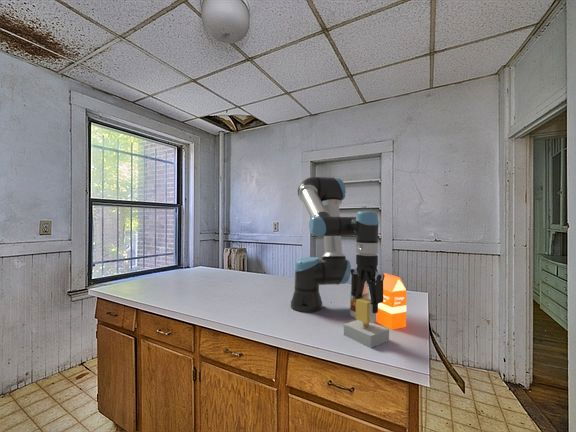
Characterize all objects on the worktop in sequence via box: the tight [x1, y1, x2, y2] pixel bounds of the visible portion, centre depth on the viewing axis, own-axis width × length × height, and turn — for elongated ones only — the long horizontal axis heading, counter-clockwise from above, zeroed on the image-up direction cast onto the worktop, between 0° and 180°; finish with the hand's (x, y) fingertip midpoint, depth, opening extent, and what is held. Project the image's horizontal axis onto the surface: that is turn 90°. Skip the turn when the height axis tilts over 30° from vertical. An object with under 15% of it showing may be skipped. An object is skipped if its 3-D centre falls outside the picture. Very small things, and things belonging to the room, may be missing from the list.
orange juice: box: [375, 272, 407, 330], centre depth 112 cm, size 8×9×20 cm
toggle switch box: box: [343, 319, 390, 349], centre depth 99 cm, size 12×10×8 cm
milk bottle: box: [349, 274, 370, 319], centre depth 121 cm, size 8×8×20 cm
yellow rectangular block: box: [355, 298, 371, 323], centre depth 99 cm, size 5×5×7 cm
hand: (366, 319), depth 99 cm, fingers closed on yellow rectangular block, 5 cm apart
